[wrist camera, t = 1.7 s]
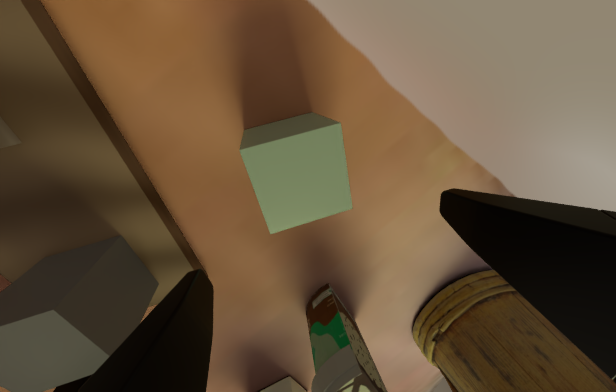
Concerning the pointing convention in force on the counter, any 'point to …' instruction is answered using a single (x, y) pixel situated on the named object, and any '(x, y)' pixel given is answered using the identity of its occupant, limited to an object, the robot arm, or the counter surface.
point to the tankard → (500, 342)
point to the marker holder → (70, 161)
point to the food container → (339, 348)
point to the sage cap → (297, 169)
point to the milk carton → (285, 386)
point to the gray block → (71, 314)
